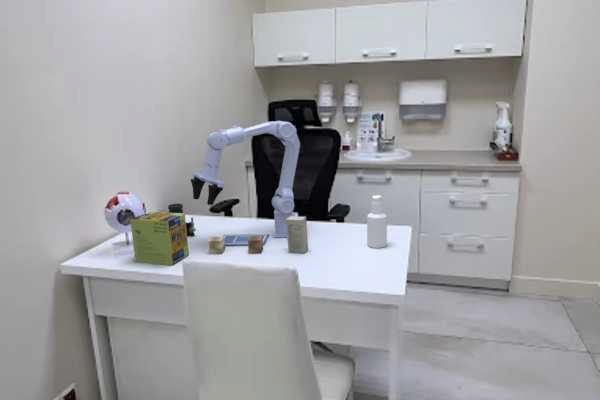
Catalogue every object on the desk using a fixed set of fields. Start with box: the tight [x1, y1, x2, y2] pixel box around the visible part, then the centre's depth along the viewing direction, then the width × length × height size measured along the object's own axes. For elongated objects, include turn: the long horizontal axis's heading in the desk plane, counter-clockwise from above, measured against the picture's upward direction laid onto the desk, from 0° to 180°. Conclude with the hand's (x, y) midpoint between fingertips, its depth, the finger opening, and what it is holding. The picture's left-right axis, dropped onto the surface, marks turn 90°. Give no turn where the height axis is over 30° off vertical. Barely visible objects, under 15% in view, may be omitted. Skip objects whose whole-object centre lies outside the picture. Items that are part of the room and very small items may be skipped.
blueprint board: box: [222, 233, 270, 247], centre depth 178 cm, size 18×12×1 cm, turn 85°
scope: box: [167, 203, 197, 238], centre depth 182 cm, size 8×14×10 cm
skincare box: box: [286, 216, 309, 254], centre depth 163 cm, size 6×4×12 cm
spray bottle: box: [366, 195, 388, 249], centre depth 165 cm, size 7×7×18 cm
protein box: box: [129, 211, 190, 266], centre depth 161 cm, size 10×15×16 cm
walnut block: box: [247, 236, 264, 255], centre depth 165 cm, size 4×4×5 cm
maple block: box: [208, 236, 226, 255], centre depth 166 cm, size 4×4×5 cm
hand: (202, 201), depth 169 cm, fingers open, 7 cm apart
